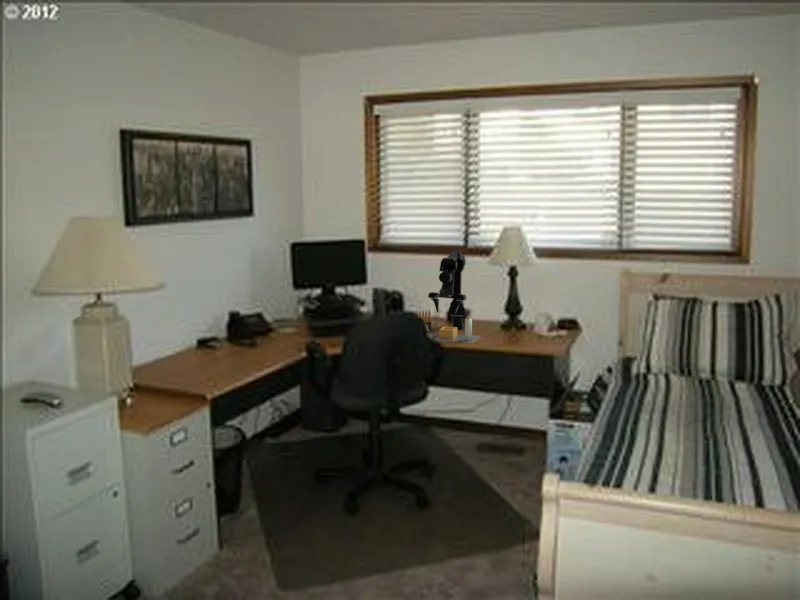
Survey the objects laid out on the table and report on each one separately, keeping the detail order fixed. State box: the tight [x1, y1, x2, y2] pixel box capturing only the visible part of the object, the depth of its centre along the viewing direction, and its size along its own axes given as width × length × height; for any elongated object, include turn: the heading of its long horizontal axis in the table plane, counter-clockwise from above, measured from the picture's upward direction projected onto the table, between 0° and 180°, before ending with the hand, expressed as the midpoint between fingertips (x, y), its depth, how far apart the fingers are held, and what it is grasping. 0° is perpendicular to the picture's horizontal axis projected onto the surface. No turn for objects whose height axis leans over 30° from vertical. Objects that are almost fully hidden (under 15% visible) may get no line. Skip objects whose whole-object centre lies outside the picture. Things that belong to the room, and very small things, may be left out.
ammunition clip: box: [412, 309, 433, 332], centre depth 380 cm, size 11×2×12 cm, turn 107°
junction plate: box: [433, 326, 482, 344], centre depth 360 cm, size 16×22×6 cm
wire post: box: [464, 315, 473, 341], centre depth 354 cm, size 4×4×12 cm
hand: (446, 313), depth 360 cm, fingers open, 9 cm apart
